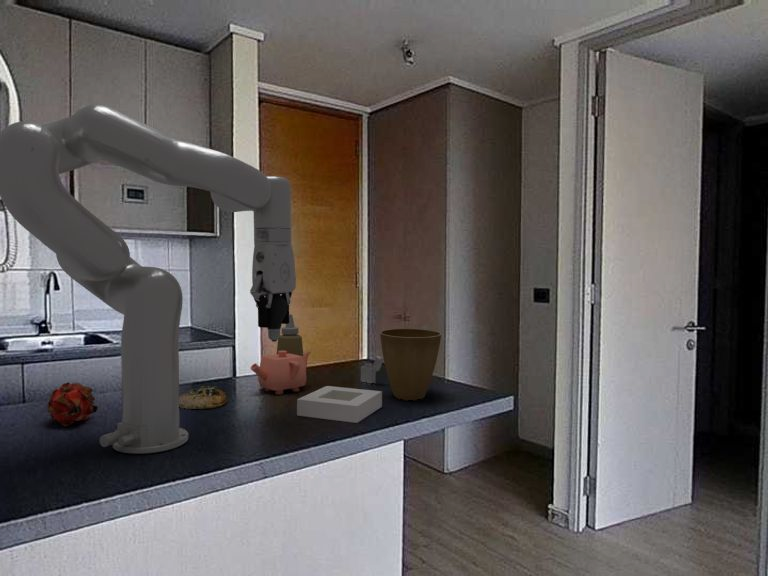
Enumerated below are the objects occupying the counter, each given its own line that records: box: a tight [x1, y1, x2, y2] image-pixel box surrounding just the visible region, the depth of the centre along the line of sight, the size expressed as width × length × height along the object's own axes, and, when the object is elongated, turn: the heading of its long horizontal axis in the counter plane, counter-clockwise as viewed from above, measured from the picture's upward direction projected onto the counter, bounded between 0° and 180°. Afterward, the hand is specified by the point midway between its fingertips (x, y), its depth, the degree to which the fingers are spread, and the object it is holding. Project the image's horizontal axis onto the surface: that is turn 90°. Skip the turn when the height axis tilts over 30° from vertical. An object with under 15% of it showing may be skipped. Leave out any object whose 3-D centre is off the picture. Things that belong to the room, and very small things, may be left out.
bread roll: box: [179, 385, 229, 410], centre depth 129 cm, size 11×11×5 cm
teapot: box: [250, 350, 313, 395], centre depth 143 cm, size 14×12×10 cm
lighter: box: [360, 354, 384, 384], centre depth 152 cm, size 7×2×8 cm, turn 48°
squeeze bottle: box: [276, 314, 304, 357], centre depth 156 cm, size 8×8×18 cm
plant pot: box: [379, 328, 442, 401], centre depth 137 cm, size 15×15×16 cm
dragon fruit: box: [46, 382, 99, 427], centre depth 114 cm, size 8×8×12 cm
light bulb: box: [264, 294, 288, 343], centre depth 117 cm, size 6×6×10 cm
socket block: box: [296, 385, 383, 424], centre depth 124 cm, size 14×14×4 cm
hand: (274, 324), depth 117 cm, fingers closed on light bulb, 5 cm apart
